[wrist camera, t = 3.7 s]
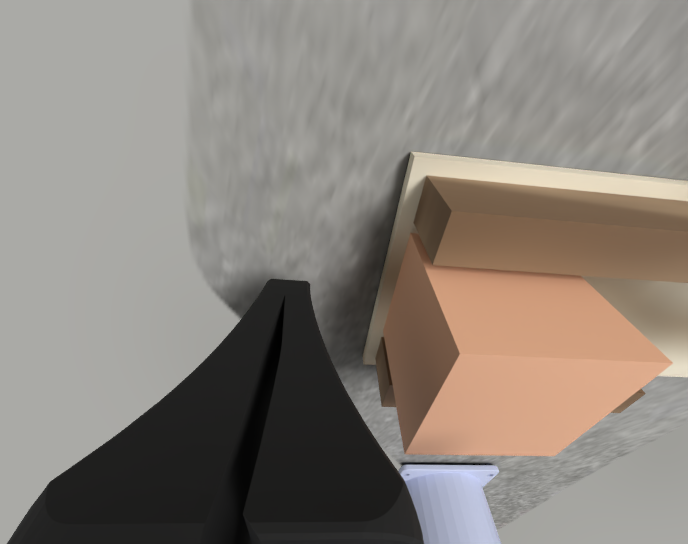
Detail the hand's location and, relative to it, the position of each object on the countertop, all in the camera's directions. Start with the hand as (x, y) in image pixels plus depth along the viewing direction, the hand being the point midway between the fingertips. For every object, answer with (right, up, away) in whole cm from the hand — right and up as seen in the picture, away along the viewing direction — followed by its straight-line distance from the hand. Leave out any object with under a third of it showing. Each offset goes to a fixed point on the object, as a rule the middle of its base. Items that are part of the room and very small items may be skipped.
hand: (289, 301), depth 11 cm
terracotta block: (+6, 0, +1) cm, 7 cm away
